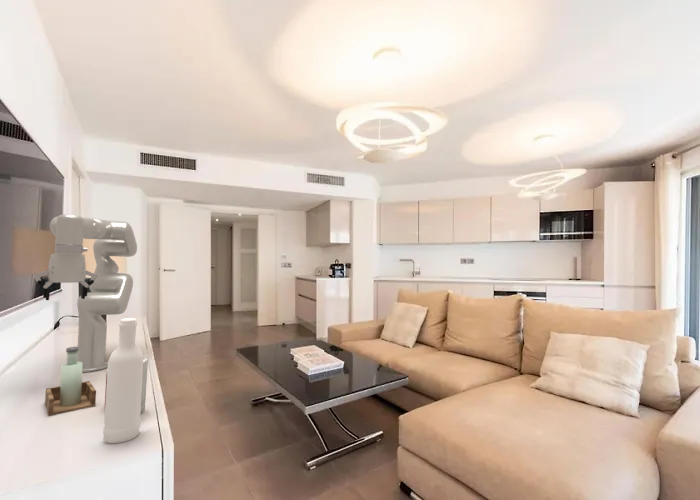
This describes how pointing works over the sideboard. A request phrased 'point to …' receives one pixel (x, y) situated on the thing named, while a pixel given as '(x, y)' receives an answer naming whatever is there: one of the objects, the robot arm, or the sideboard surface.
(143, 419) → the sideboard surface
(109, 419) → the bottle
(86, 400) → the u rest
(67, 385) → the bottle
